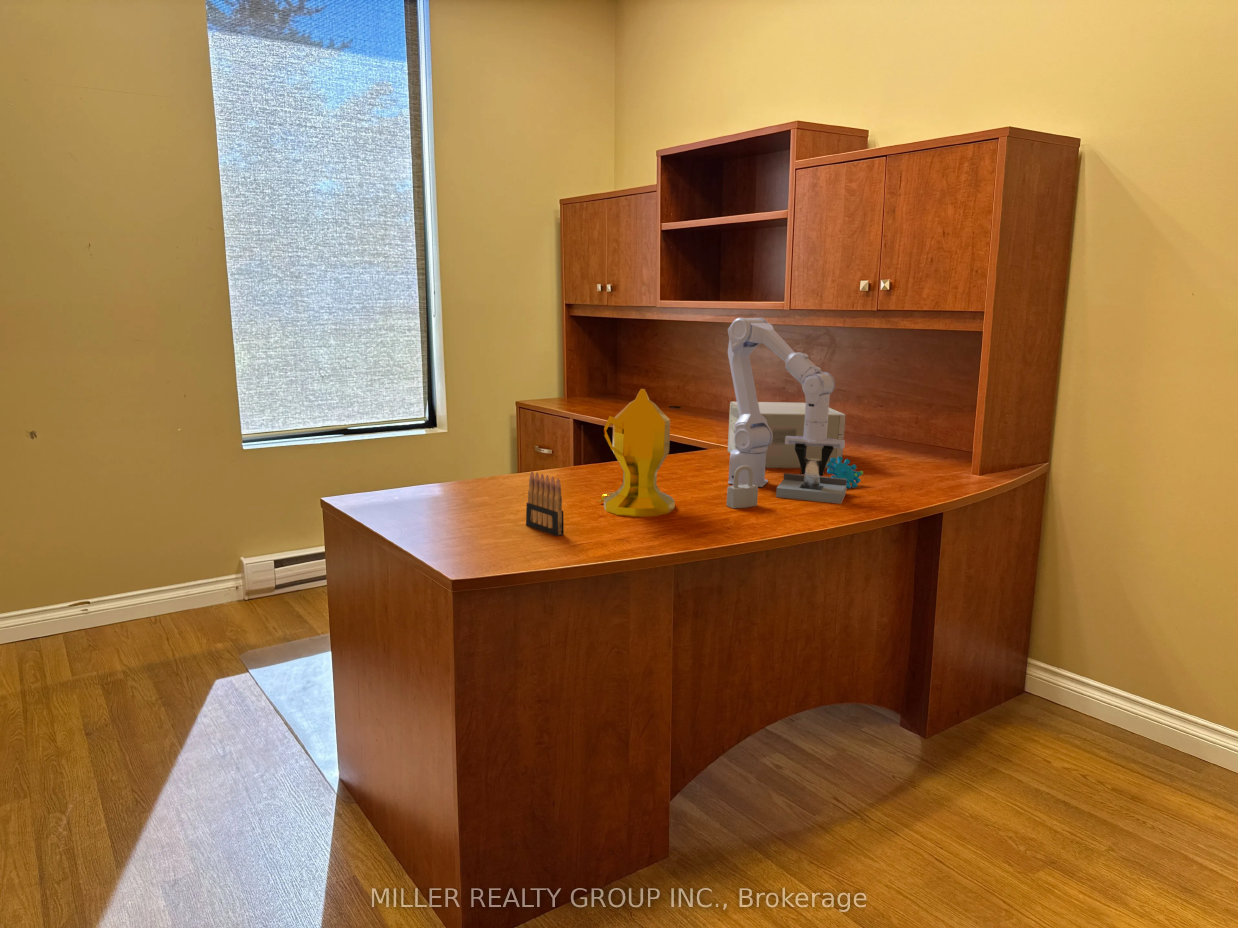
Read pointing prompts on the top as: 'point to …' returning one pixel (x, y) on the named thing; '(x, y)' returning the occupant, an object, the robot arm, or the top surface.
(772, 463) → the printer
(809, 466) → the cylindrical peg
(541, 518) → the ammunition clip
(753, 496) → the padlock
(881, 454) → the top surface
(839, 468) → the gear
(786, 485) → the plate
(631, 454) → the trophy cup
